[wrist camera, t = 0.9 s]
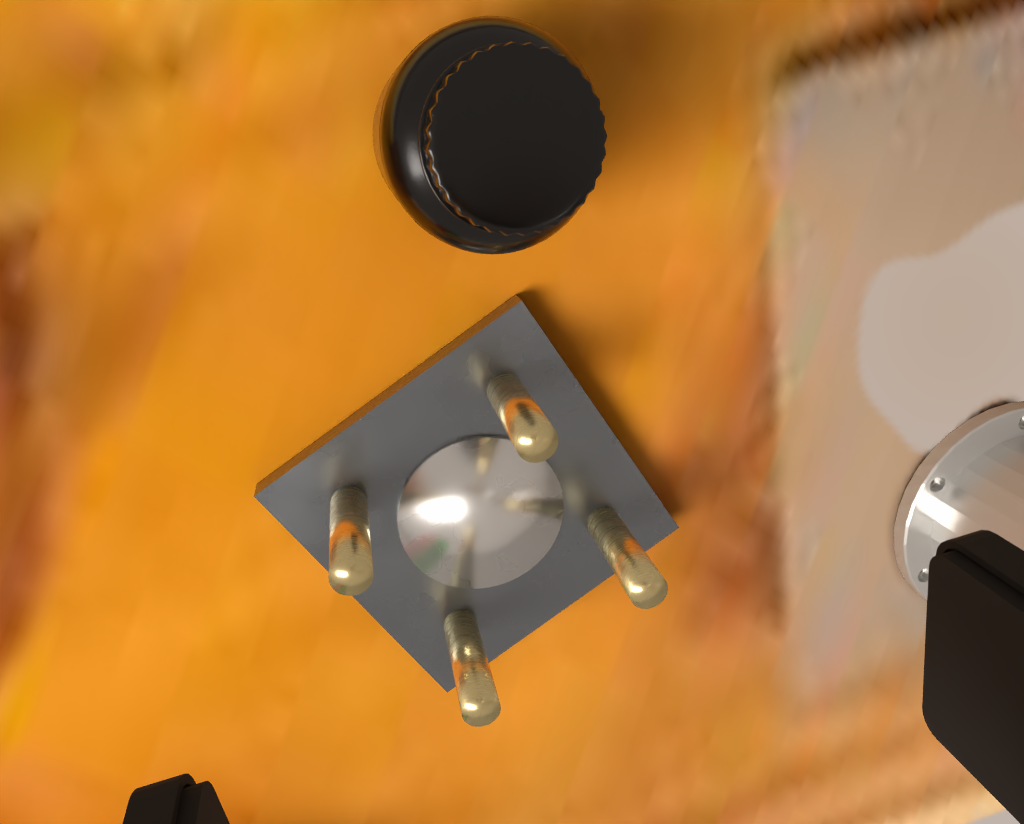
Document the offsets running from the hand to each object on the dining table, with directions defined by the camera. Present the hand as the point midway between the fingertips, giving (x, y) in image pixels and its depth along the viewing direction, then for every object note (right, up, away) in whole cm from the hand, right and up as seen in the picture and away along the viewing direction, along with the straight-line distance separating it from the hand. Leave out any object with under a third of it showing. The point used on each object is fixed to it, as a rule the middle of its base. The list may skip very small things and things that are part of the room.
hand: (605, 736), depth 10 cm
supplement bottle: (-3, +15, +22) cm, 26 cm away
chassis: (-3, 0, +27) cm, 27 cm away
